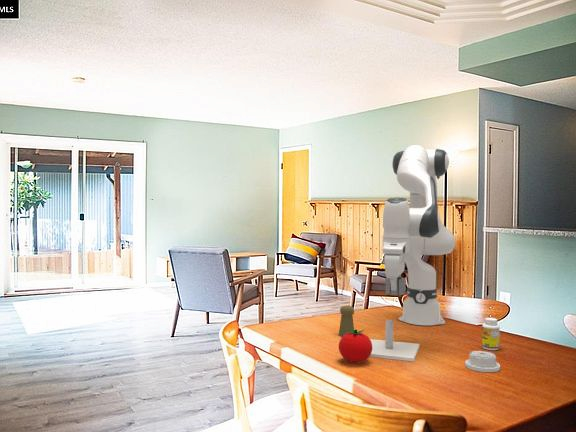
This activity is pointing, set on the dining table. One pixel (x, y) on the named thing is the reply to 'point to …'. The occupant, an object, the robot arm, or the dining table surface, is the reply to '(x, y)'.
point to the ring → (400, 286)
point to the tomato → (355, 346)
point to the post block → (393, 347)
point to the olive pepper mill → (346, 320)
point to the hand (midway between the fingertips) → (395, 288)
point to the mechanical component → (482, 362)
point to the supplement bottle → (490, 334)
